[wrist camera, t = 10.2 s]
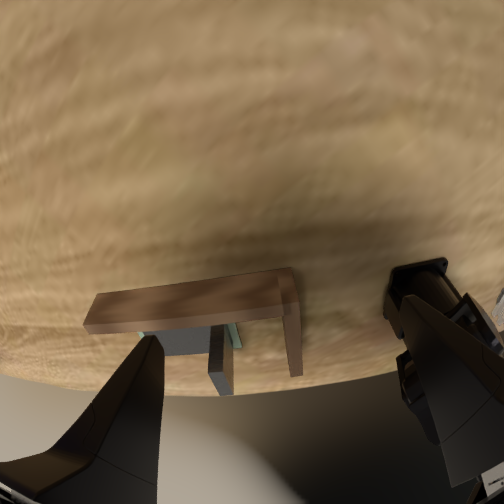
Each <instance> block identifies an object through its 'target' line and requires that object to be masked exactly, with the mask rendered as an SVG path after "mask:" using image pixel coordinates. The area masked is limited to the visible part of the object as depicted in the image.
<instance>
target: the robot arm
mask: <svg viewBox="0 0 504 504" xmlns="http://www.w3.org/2000/svg"><path fill="white" fill-rule="evenodd" d="M447 266H448V260H447V259H446V258H440V259H436V260H431V261H426V262H422V263H417V264H412V265H407V266H402V267H397V268H395V269H393V271H392V273H391V278H390V284H389V289H388V291H387V294H386V299H385V304H384V313H383V316H384V318H385V319H389V321H390V324H391V326H392V328H393V330H394V332H395V334H396V336H397V338H398V339H403V341H404V343H405V345H406V347H407V350H406V351H405V352H404V353H403V354H400V355H399V356H397V357H396V362H397V368H398V374H399V379H400V386H401V393H402V399H403V400H404V402H405V403H406V405H407V406H408V408H409V409H410V410H411V411H412V412H413V413H414V414H415V415H416V416H417V418H418V419H419V421H420V423H421V425H422V427H423V429H424V432H425V434H426V436H427V438H428V440H429V441H430V442H432V443H433V444H435V445H436V446H439V445H441V447H442V450H443V454H444V457H445V462H446V466H447V470H448V474H449V479H450V483H451V486H452V487H455V486H457V485H459V484H461V483H464V482H466V481H468V480H470V479H472V478H474V477H476V478H477V480H478V483H477V484H475V487H474V489H473V491H472V493H471V495H470V497H469V499H468V501H467V503H466V504H504V358H503V356H502V353H503V352H504V343H503V341H502V339H501V337H500V335H499V333H498V331H497V329H496V327H495V325H494V323H493V322H492V320H491V319H490V317H489V316H488V315H487V313H486V312H485V311H484V309H483V308H482V307H481V306H480V305H479V304H478V303H477V302H476V301H475V300H474V299H473V298H472V297H471V296H470V295H469V294H468V293H466V294H465V295H464V296H463V298H462V297H461V295H460V294H459V293H458V291H457V290H456V288H455V287H454V286H453V284H452V283H451V282H450V280H449V279H448V278H447V276H446V275H445V273H446V269H447ZM396 273H397V274H396ZM164 363H165V353H164V348H163V347H162V345H161V343H160V341H159V340H158V338H157V337H156V335H145V336H144V337H143V338H142V339H141V340H140V341H139V343H138V344H137V345H136V346H135V347H134V349H133V350H132V351H131V352H130V354H129V355H128V356H127V357H126V359H125V360H124V361H123V362H122V364H121V365H120V366H119V367H118V369H117V370H116V371H115V372H114V374H113V375H112V376H111V378H110V379H109V380H108V381H107V383H106V384H105V385H104V386H103V388H102V389H101V390H100V392H99V393H98V394H97V395H96V397H95V398H94V399H93V401H92V403H90V404H89V406H88V407H87V408H86V409H85V411H84V412H83V413H82V415H81V416H80V417H79V418H78V419H77V420H76V422H75V423H74V424H73V425H72V426H71V427H70V428H69V430H67V431H66V433H65V434H64V435H63V436H62V437H61V438H60V439H59V440H58V441H57V442H56V443H55V444H54V445H53V446H52V447H51V448H50V449H48V450H47V451H45V452H43V453H40V454H36V455H32V456H29V457H25V458H21V459H17V460H13V461H9V462H0V482H1V483H3V484H4V485H6V486H8V487H9V488H11V489H12V490H11V492H10V491H8V490H5V489H4V488H2V487H0V504H157V478H158V459H159V444H160V431H161V419H162V408H163V399H164Z"/></svg>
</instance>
